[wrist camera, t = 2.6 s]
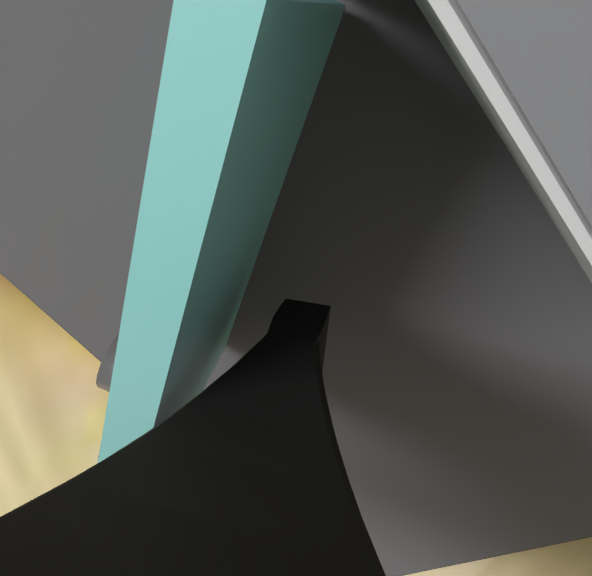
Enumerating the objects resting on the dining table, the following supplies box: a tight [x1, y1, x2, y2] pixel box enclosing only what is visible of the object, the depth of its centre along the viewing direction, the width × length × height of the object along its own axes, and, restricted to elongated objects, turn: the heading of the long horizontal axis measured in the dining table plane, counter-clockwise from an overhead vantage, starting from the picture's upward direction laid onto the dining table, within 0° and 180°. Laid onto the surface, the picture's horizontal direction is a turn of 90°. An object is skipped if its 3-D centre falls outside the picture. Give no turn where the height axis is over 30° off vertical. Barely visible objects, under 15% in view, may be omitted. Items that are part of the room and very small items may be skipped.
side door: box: [96, 0, 346, 463], centre depth 7 cm, size 2×8×5 cm, turn 160°
